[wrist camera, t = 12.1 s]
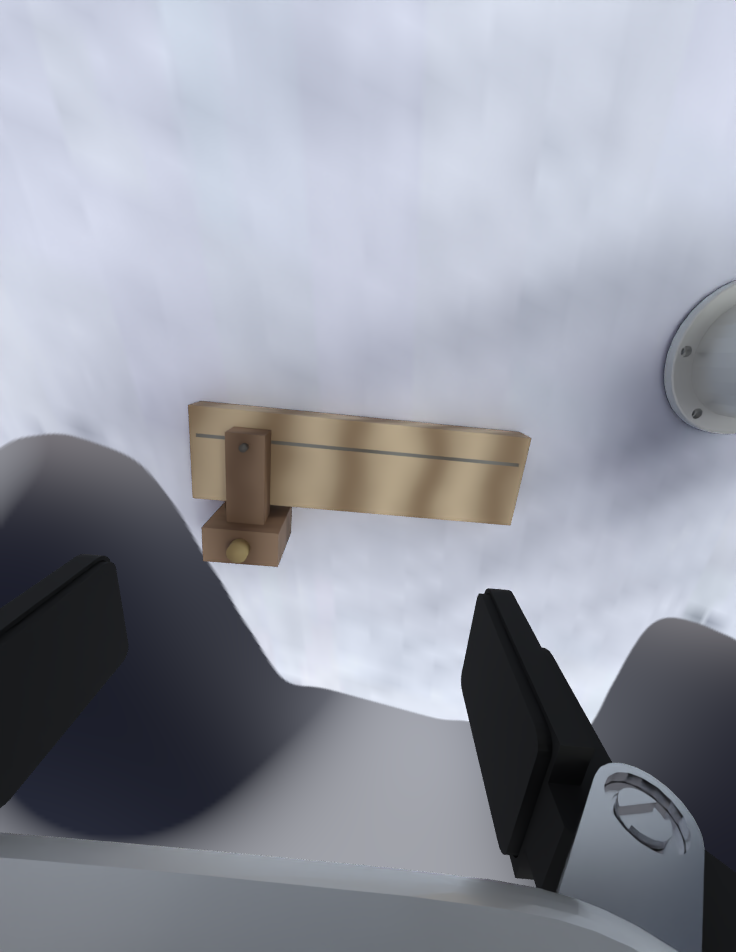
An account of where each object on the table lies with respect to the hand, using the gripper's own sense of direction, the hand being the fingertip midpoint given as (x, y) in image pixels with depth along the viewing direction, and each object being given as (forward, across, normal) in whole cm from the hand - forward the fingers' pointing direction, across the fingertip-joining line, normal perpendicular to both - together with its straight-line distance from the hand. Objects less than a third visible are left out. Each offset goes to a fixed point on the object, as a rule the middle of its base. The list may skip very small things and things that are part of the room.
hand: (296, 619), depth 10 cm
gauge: (+24, +8, +6) cm, 26 cm away
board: (+25, 0, +3) cm, 25 cm away
